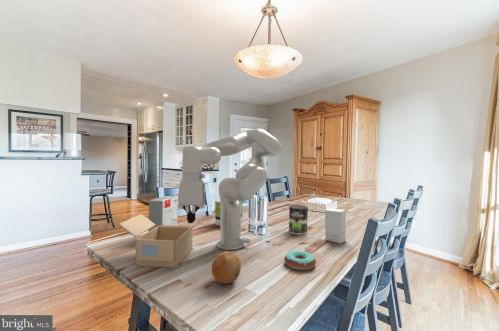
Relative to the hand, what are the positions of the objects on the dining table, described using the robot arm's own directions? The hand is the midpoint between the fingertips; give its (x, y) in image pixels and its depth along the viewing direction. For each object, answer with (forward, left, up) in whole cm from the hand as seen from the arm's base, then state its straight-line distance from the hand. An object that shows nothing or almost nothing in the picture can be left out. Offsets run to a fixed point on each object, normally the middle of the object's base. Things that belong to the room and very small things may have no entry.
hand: (191, 222), depth 99 cm
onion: (-18, +17, -15) cm, 29 cm away
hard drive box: (+22, -24, -15) cm, 36 cm away
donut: (-44, +1, -15) cm, 46 cm away
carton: (+10, 0, -15) cm, 18 cm away
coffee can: (-48, -41, -15) cm, 65 cm away
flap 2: (+2, 0, -4) cm, 4 cm away
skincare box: (-65, -29, -15) cm, 72 cm away
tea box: (-7, -53, -15) cm, 56 cm away
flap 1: (+19, 0, -4) cm, 19 cm away
